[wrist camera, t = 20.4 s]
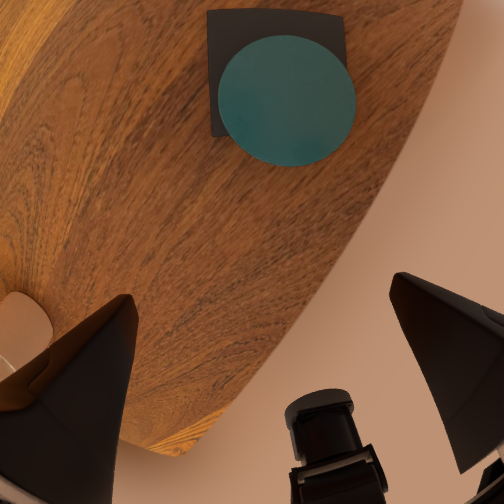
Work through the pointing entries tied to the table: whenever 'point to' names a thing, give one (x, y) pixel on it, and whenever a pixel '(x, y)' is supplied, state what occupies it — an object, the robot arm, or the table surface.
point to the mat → (257, 27)
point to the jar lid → (287, 100)
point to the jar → (21, 332)
